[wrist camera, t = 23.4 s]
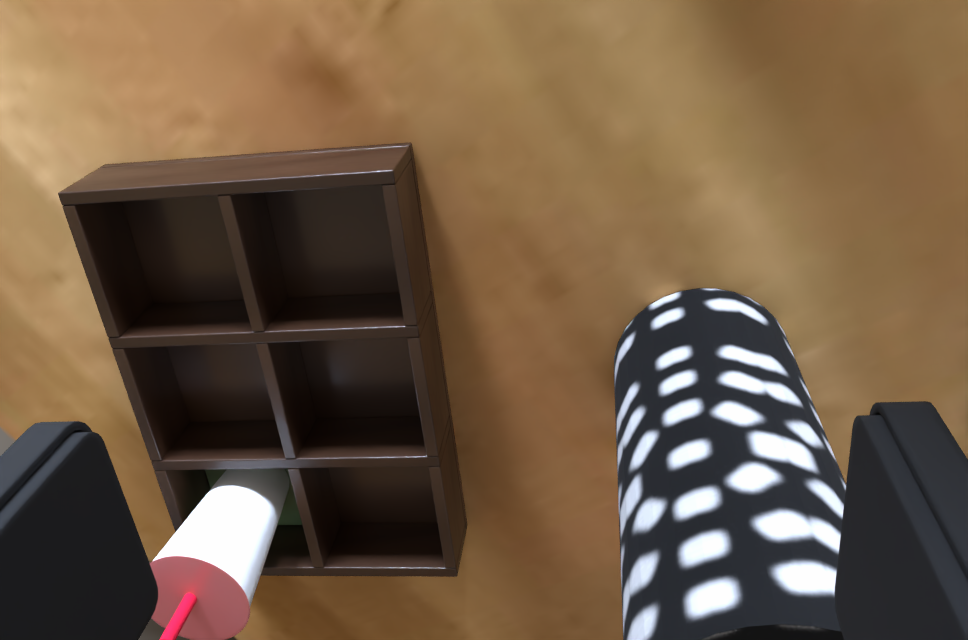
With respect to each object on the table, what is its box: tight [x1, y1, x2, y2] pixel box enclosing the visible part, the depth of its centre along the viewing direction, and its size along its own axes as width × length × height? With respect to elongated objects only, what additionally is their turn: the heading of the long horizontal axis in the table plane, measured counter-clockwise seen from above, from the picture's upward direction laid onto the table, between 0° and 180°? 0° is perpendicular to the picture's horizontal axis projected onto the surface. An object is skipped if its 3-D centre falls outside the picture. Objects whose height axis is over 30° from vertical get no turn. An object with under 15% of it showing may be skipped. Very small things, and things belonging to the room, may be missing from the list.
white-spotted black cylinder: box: [614, 288, 846, 640], centre depth 33 cm, size 8×8×20 cm
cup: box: [150, 468, 289, 640], centre depth 42 cm, size 5×5×12 cm
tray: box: [58, 143, 467, 577], centre depth 42 cm, size 22×15×4 cm
